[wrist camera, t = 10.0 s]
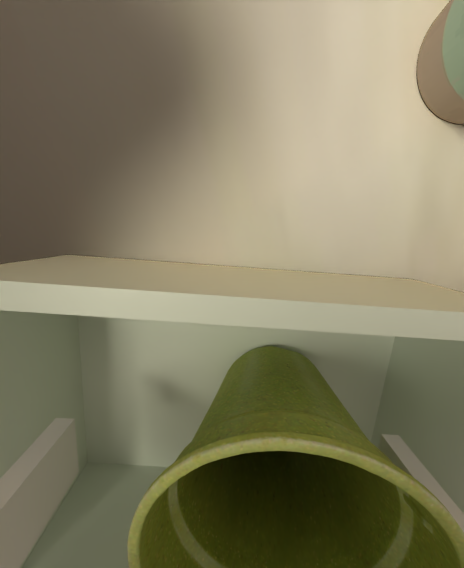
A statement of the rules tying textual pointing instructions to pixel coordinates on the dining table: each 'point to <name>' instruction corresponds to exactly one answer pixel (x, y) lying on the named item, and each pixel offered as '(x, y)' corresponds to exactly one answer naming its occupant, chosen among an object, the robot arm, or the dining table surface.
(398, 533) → the plant pot
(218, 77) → the dining table surface
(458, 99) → the coffee cup
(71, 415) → the box
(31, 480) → the robot arm
